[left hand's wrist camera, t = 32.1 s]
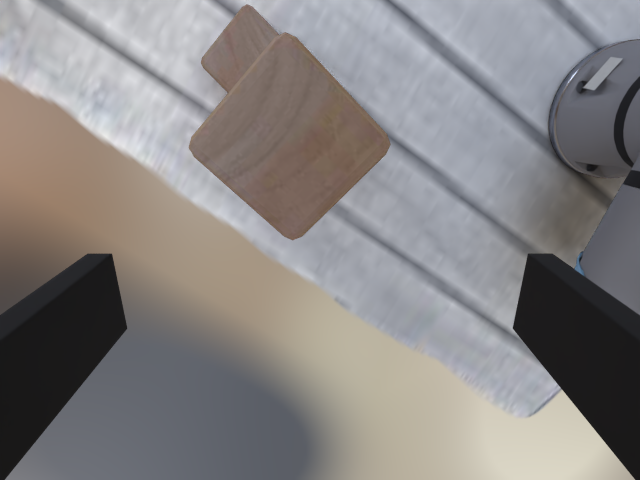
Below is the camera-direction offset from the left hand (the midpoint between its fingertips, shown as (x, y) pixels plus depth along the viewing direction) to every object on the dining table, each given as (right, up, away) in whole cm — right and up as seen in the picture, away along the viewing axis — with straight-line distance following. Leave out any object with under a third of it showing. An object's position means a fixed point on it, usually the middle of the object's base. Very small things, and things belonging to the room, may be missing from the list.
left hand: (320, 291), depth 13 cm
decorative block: (-4, +19, +34) cm, 39 cm away
